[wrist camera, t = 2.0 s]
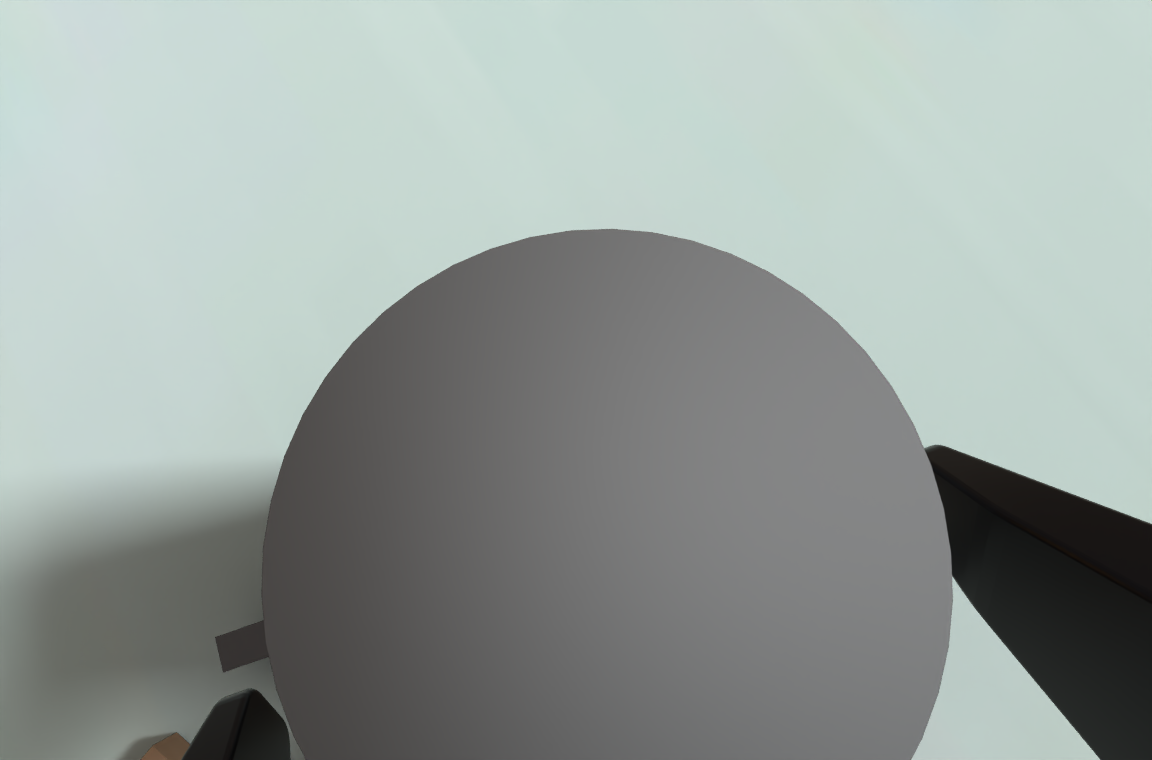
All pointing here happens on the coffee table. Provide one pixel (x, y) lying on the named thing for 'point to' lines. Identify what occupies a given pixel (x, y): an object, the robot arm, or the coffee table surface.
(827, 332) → the orange-banded grey cylinder
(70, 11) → the coffee table surface
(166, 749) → the walnut pad
